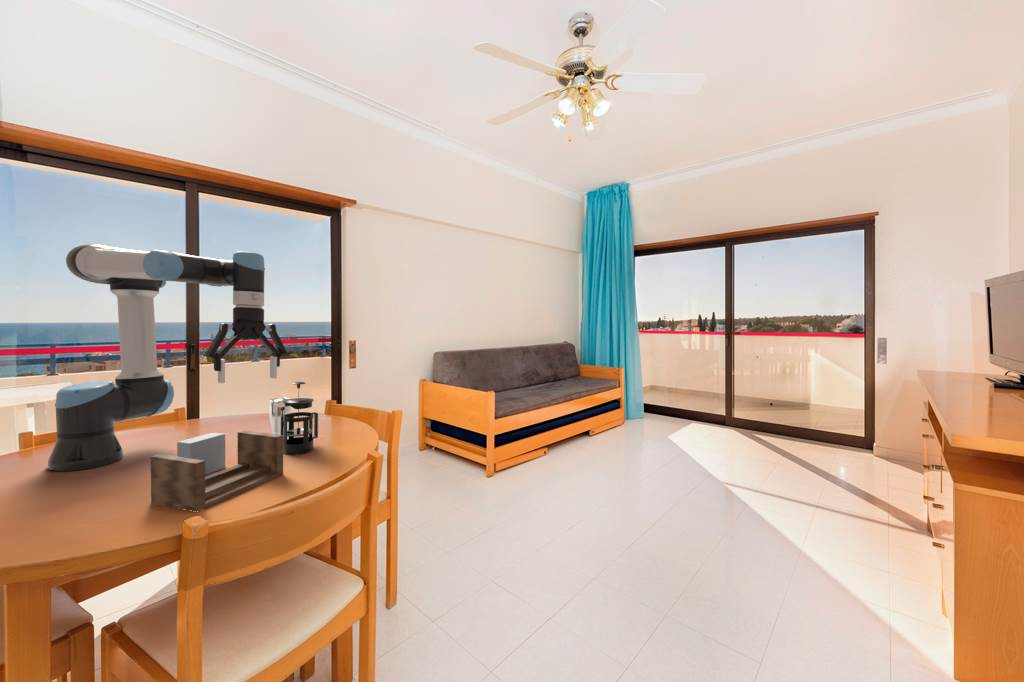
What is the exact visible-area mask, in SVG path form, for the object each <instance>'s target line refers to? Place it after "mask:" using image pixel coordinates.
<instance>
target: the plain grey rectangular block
mask: <svg viewBox="0 0 1024 682" xmlns="http://www.w3.org/2000/svg"><path fill="white" fill-rule="evenodd" d="M176 444H177V445H176V449H177V450H176V451H177V453H176V456H178V457H184V458H191V459H198V460H204V461H205V476H207V475H208V474H209V475H210V474H212V473H215V472H216V471H217V472H218V471H221V470H224V469H225V468H226V433H221V432H211V433H206V434H205V433H204V434H202V435H198V436H194V437H191V438H188V439H182V440H178V441H177V442H176Z"/></svg>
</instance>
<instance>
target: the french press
mask: <svg viewBox="0 0 1024 682" xmlns="http://www.w3.org/2000/svg"><path fill="white" fill-rule="evenodd" d="M305 384H306V382H305V381H295V382H292V383H291V385H294V386H295V385H296V388H297V397H296V398H291V399H288V400H285V401H283V403H285V407H287V406H291V407H292V409H294V410H297V412H292V413H289V414H286V415H284V416H283V421H284V441H283V453H284V454H283V455H287V454H288V456H296V455H295V454H298V455H303V454H302V453H304V454H307V453H306V452H308V453H310V452H309V451H311V450H313V449H315V447H314V440H315V439H317V438H318V436H319V424H318V423H319V414H318V412H315V411H314V412H309V411H300V410H305V409H309V408H311V407H313V402H314V401H315V400H314V398H311V397H309V398H308V397H300V389H301V385H305ZM313 421H314V422H313ZM287 422H289V430H288V431H287ZM301 422H303V423H302V424H303V425H302V427H301V428H300V423H301ZM295 423H297V428H295ZM313 429H314V430H313ZM287 436H289V439H287ZM313 451H314V450H313ZM311 452H312V451H311Z"/></svg>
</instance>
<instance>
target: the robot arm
mask: <svg viewBox="0 0 1024 682" xmlns="http://www.w3.org/2000/svg"><path fill="white" fill-rule="evenodd" d="M65 263H66V267H67V268H68V270H69V272H70V273H72V274H73V275H75V276H76V277H77V278H79V279H81V280H83V281H87V282H90V283H93V284H94V283H95V284H102V285H109V287H110V288H109V290H110V291H109V292H111V293H112V294H113V295H114V296H116V298H117V299H116V300H117V314H118V315H117V316H118V332H119V333H118V336H119V350H120V351H119V352H120V353H119V354H120V355H119V356H120V370H121V371H120V372H119V374H117V375H116V376H115V378H114V382H113V381H112V380H94V381H87V382H80V383H74V384H71V385H66V386H64V387H63V388H61V389H59V390H58V391H57V392H56V397H55V403H54V407H55V420H56V421H55V422H56V424H55V427H56V442H55V444H54V446H53V448H52V451H51V452H50V455H49V458H48V460H47V469H48V470H49V469H50V470H49V471H51V470H54V472H72V471H81V470H87V469H93V468H98V467H102V466H105V465H110V464H112V463H115V462H117V461H120V460H121V459H122V458H123V457H124V456H123V455H124V453H123V450H124V449H123V447H122V445H121V444H120V442H119V440H118V437H117V435H116V433H115V423H117V422H124V421H129V420H133V419H139V418H148V417H152V416H156V415H160V414H162V413H164V412H166V411H167V410H168V409H169V408H170V407H171V406H172V404H173V401H174V398H175V397H174V395H175V389H174V386H173V385H172V382H171V381H170V380H168V379H165V378H164V376H165V375H164V373H162V372H161V371H160V370H159V369H158V362H157V361H158V359H157V357H158V356H157V339H156V320H155V319H156V318H155V316H156V315H155V303H154V301H155V299H154V298H155V297H156V296H157V295H158V294H160V289H162V288H163V287H165V286H166V285H167V282H177V283H178V282H179V283H189V284H190V283H191V284H200V285H207V286H211V287H221V288H222V287H232V304H233V306H235V307H233V308H232V324H228V323H226V322H225V323H223V322H221V323H220V324H219V328H218V332H217V333H216V335H215V337H214V338H213V340H212V342H211V343H210V345H209V347H208V348H207V350H206V352H205V354H204V356H205V357H207V358H211V359H212V360H213V370H214V371H215V372H217V383H219V384H225V383H226V359H224V358H223V357H225V355H226V354H227V353H228V352H229V351H230V350H231V349H232V348H233V347H234V346H235V345H236V344H237V343H238V342H239V341H240V340H258V341H259V342H260V343H261V344H262V346H264V347H265V348H266V349H267V351H268V352H270V354H271V355H272V356H271V355H270V356H269V378H270V379H277V378H278V368H280V365H281V357H282V356H283V355H287V350H286V348H285V345H284V343H283V342H282V340H281V337H280V336H279V334H278V332H277V326H276V324H274V323H268V324H265V309H264V306H265V270H266V268H265V267H266V266H265V258H264V256H263V255H262V254H260V253H256V252H252V251H251V252H250V251H236V252H233V254H232V259H231V260H230V259H228V260H227V259H217V258H212V257H204V256H198V255H193V254H191V255H190V254H185V253H179V252H173V251H170V250H165V249H164V250H159V249H152V250H150V251H143V250H136V249H129V248H121V247H116V246H115V247H114V246H107V245H104V244H103V245H102V244H83V245H79V246H75V247H73V248H72V249H71V250H70V251H69V252H68V253H67V255H66V258H65ZM262 307H263V308H262ZM230 330H232V331H233V334H232V335H231V336H230V337H229V339H228V340H227V341H226V342H225V343H224V344H223V345H222V346H221V344H222V343H223V342H224V339H225V338H226V336H227V334H228V332H230ZM265 330H266V332H268V334H269V336H270V339H271V340H272V342H273V343H272V342H271V341H270V340H269V339H268V338H267V336H266V335H265V334H264V333H263V332H265ZM220 346H221V347H220ZM109 463H110V464H109Z"/></svg>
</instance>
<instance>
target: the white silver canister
mask: <svg viewBox="0 0 1024 682" xmlns="http://www.w3.org/2000/svg"><path fill="white" fill-rule="evenodd" d="M288 399H292V398H290V397H277V398H271V399H270V400H269V410H268V412H269V413H268V415H269V421H270V426H271V434H276V435H283V441H284V421H283V416H284V415H286V414H289V413H293V412H292V411H293V407H291V406H287V407H285V403H283V401H285V400H288ZM288 430H289V422H287V431H288ZM287 439H289V436H287Z"/></svg>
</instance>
